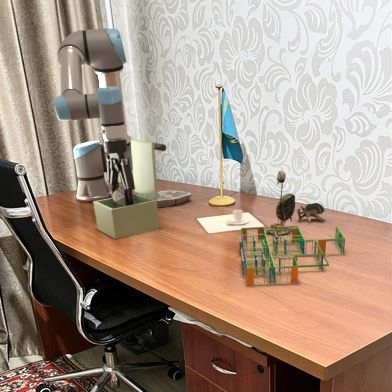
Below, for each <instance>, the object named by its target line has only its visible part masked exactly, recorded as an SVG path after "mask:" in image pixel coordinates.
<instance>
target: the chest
mask: <svg viewBox="0 0 392 392" xmlns="http://www.w3.org/2000/svg"><path fill="white" fill-rule="evenodd" d="M132 194H133V197H134V198H136V200H135V199H134V200H133V202H134V204H133V205H129V206H124V207H117V208H116V205H114V202H113V199H112V197H110V198H108V199H104V200H99V201H93V202H92V204H93V208H94V215H95V222H96V229H97V230H98V231H100V232H102V233H104V234H105V235H107V236H109V237H111V238H112V239H115V240H119V239H123V238H126V237H131V236H135V235H140V234H143V233H148V232H152V231H157V230H160V220H159V212H158V211H159V210H158V207H157V200H154V199H151V198H148V197H146V195H143V194H140V193H137V192H134V193H132Z"/></svg>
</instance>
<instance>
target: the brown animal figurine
mask: <svg viewBox="0 0 392 392" xmlns="http://www.w3.org/2000/svg"><path fill="white" fill-rule="evenodd" d="M296 213H297V215H298V216H297V217H298V221H301V220H302V219H303V218H306V219H307V220H308V224H310V223H311V221H312V218H315V219H318V220H319V221H320V222H325V221H326V220H325V219H324V218H322V217H321V216H320V215H323V213H325V207H324V206H323V205H322V204H320V203H318V202H313V203H307V205H305V207H304V206H303V205H302V204H300V205H299V208H297V210H296Z"/></svg>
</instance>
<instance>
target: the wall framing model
mask: <svg viewBox="0 0 392 392" xmlns="http://www.w3.org/2000/svg"><path fill="white" fill-rule="evenodd" d="M270 228H281V229H273V230H267V229H270ZM282 228H285V229H282ZM248 230H257V233H256V234H255V233H253V234H252V235H249V234H248ZM278 230H280V235H278ZM282 230H283V231H289V232H290V231H291V238H288V237H289V235H282V234H281V232H282ZM265 231H267V232H265ZM270 232H273V233H272V245H273V246H274V248H273V249H272V251H273V254H274V255H272V251H271V247H270V243H269V241H268V234H267V233H270ZM256 236H257V239H256V238H255V237H256ZM238 238H239V241H238V242H239V256H240V259H241V260H240V263H241V272H242V277H245V279H246V284H247V286H255V285H256V286H257V285H261V283H258V281H259V280H258V279H259V277H255V276H258V275H260V276H264V277H263V281H264V282H263V285H266V279H268V281H269V283H268V284H269V285H278V284H282V282H279V280H278V279H282V276H281V275H284V274H288V273H290V276H286V280H287V281H286V284H289V282H288V280H289V278H290V284H297V283H298V280H299V277H298V276H299V268H315V267H317V268H319V269H318V271H324V270H323V269H324V267H330V263H329V262H328V259H327V257H326V256H327V254H326V250H327V242H334V243H335V244H336V245H337V248H338V249H339V250H340V254H339V253H338V254H337V256H344V255H345V245H346V237H345V236H344V234H343V233H342V232H341V230H340V229H339V228H338V226H335V234H334V238H323V239H322V238H321V239H305V238H304V236H303V234H302V232H301V230H300V228H299V226H298V225H290V226H289V225H288V226H284V227H271V226H270V227H251V228H241V230H240V235H239V237H238ZM248 238H252V239H248ZM282 238H283V242H282ZM257 242H258V243H261V244H262V245H261V246H257V247H256V243H257ZM249 243H250V244H249ZM308 243H311V250H314V251H313V253H309V254H307V253H305V250H306V244H308ZM291 244H292V245H293V246H295V245H294V244H297V246H295V248H296V249H291ZM278 245H279V246H278ZM287 245H288V248H287ZM248 246H249V247H248ZM313 246H314V247H313ZM298 247H299V248H298ZM256 249H257V250H260V251H256ZM278 249H280V253H279V250H278ZM247 250H249V252H248V254H247V252H246V251H247ZM252 250H253V251H252ZM296 250H300V251H301V253H298V254H292V256H288V255H290V252H293V251H296ZM282 252H284V253H282ZM287 252H288V253H287ZM276 253H277V254H276ZM250 257H254V259H253V258H251V259H250ZM310 257H313V258H314V257H315V259H316V262H317V264H304V265H298V258H310ZM266 258H267V259H266ZM276 258H278V263H275V261H274V259H276ZM289 259H292V262H291V263H290V262H288V265H286V261H287V260H288V261H289ZM282 261H284V263H282ZM324 261H325V263H324ZM249 262H250V266H248V265H249ZM266 263H268V266H266ZM258 264H261V265H260V266H258ZM285 269H288V270H285ZM282 270H283V272H282ZM259 271H260V272H259ZM311 271H312V272H314V271H315V272H316V271H317V269H310V270H306V272H311ZM258 272H259V273H258ZM255 273H256V274H255ZM278 277H279V278H278ZM255 279H256V283H255ZM276 279H277V281H276ZM272 281H273V282H272Z"/></svg>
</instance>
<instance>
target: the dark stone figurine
mask: <svg viewBox="0 0 392 392" xmlns="http://www.w3.org/2000/svg"><path fill="white" fill-rule="evenodd" d="M286 177H287V175H286V172H284V171H283V170H279V171H278V172H277V176H276V180H277V182H276V184H277V185H278V186H279V184H281V186H280V187H281V188H280V189H281V191H280V197H279V199H278V201H277V203H276V207H275V216H276V218H278V220H277V223H271V224H270V227H285V224H286V222H287V221H288V220H290V222H293V219H292V216H294V213H295V210H296V209H295V208H296V194H297V193H295V194H293V193H290V192H287V193H286V194H285V193H284V195H283V187H284V183H285V181H286ZM279 221H280V222H279ZM273 229H281V228H268V229H266V230H273ZM282 229H286V228H282ZM265 233H268V232H267V231H265ZM269 233H271V234H273V232H269ZM289 233H290V231H283V230H282V232H281V235H283V234H289ZM278 236H280V230H278Z"/></svg>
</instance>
